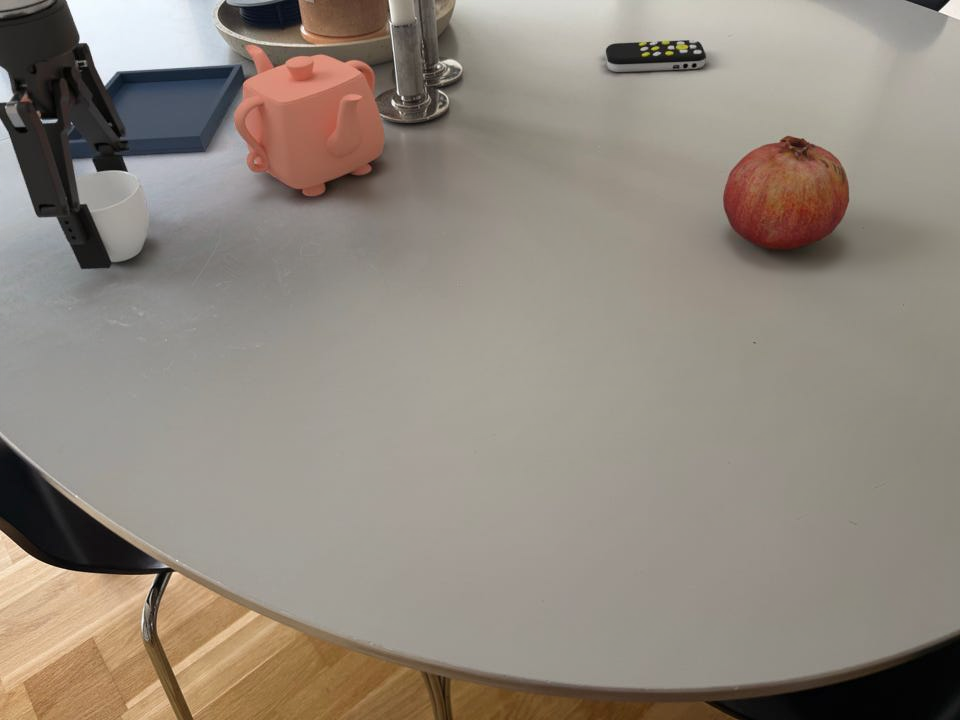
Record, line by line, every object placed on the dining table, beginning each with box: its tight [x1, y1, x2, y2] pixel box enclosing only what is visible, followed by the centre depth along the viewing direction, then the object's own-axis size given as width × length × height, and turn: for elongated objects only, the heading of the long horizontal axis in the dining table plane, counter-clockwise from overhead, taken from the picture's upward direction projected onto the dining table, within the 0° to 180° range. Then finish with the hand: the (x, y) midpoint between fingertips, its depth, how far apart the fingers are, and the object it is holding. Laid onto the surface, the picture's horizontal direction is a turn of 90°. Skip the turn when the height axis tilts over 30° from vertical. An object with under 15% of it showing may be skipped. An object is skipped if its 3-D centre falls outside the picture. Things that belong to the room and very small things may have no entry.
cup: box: [66, 171, 150, 263], centre depth 80 cm, size 8×10×7 cm
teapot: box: [233, 44, 385, 197], centre depth 88 cm, size 15×17×13 cm
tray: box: [68, 63, 246, 159], centre depth 106 cm, size 22×18×2 cm
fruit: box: [722, 135, 850, 250], centre depth 73 cm, size 11×10×10 cm
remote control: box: [605, 39, 707, 73], centre depth 108 cm, size 6×13×2 cm, turn 88°
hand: (113, 238), depth 81 cm, fingers closed on cup, 9 cm apart
